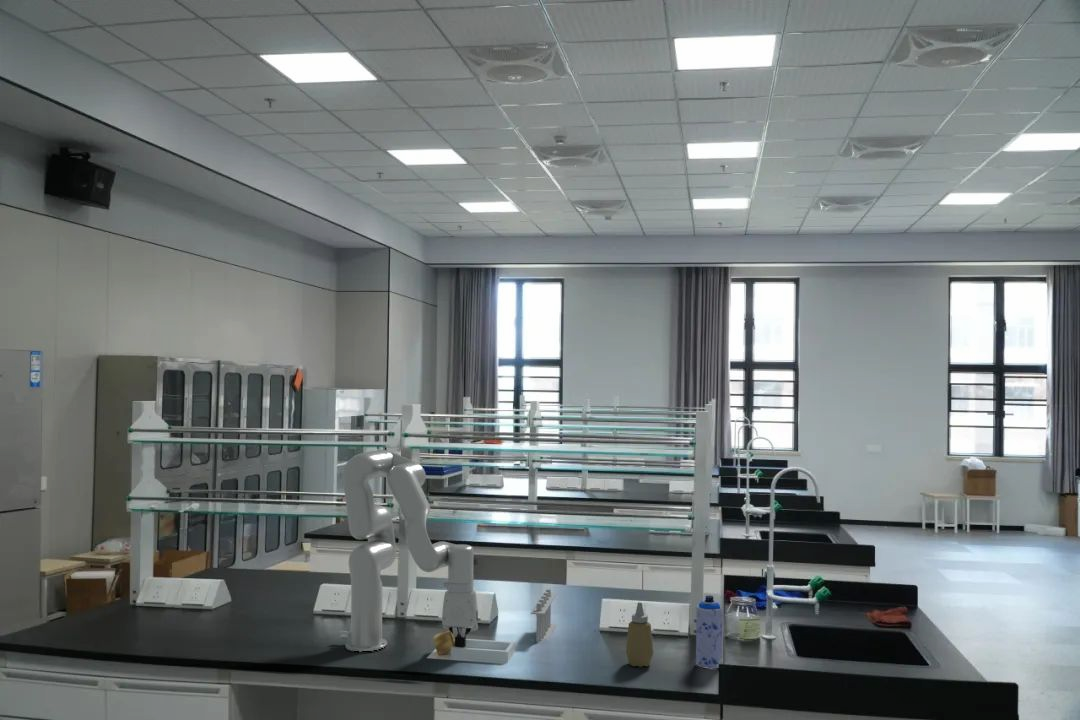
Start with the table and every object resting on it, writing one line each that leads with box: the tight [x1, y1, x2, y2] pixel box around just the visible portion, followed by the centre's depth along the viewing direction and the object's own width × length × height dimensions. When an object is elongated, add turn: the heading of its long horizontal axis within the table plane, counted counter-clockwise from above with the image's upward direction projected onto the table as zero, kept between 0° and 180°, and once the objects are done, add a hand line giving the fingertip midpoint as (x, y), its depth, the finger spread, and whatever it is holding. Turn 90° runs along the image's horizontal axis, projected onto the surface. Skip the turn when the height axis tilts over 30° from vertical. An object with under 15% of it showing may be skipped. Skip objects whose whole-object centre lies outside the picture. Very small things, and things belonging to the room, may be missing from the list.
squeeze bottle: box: [625, 601, 654, 668], centre depth 256 cm, size 8×8×18 cm
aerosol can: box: [695, 595, 723, 668], centre depth 257 cm, size 8×8×20 cm
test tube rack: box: [530, 588, 557, 644], centre depth 283 cm, size 25×4×13 cm, turn 170°
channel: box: [426, 638, 516, 665], centre depth 259 cm, size 24×12×4 cm, turn 79°
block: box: [432, 630, 455, 655], centre depth 260 cm, size 5×5×5 cm
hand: (460, 649), depth 260 cm, fingers closed
